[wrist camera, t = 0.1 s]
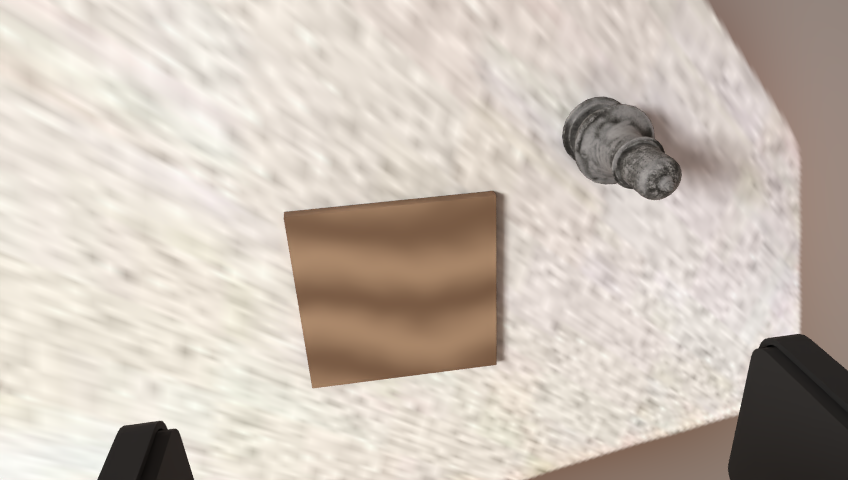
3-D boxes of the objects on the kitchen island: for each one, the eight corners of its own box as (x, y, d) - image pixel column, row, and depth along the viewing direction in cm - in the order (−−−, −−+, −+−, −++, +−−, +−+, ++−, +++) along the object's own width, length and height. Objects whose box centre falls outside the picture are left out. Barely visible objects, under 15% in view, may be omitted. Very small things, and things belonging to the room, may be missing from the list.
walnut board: (284, 212, 47) (283, 217, 46) (493, 190, 49) (496, 195, 48) (312, 380, 54) (312, 388, 53) (493, 357, 56) (496, 364, 55)
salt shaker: (544, 126, 47) (606, 184, 36) (609, 76, 46) (694, 120, 35) (583, 182, 49) (653, 251, 39) (646, 135, 48) (736, 194, 38)
